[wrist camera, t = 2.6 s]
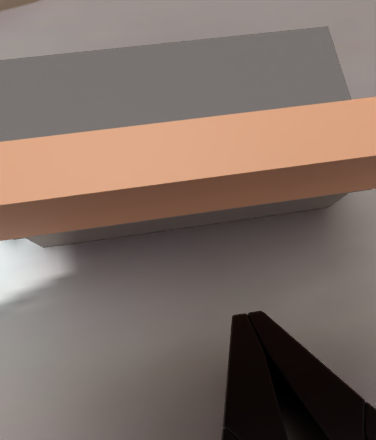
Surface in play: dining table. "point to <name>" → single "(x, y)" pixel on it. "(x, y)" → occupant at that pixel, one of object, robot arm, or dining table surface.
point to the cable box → (169, 99)
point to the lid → (185, 167)
